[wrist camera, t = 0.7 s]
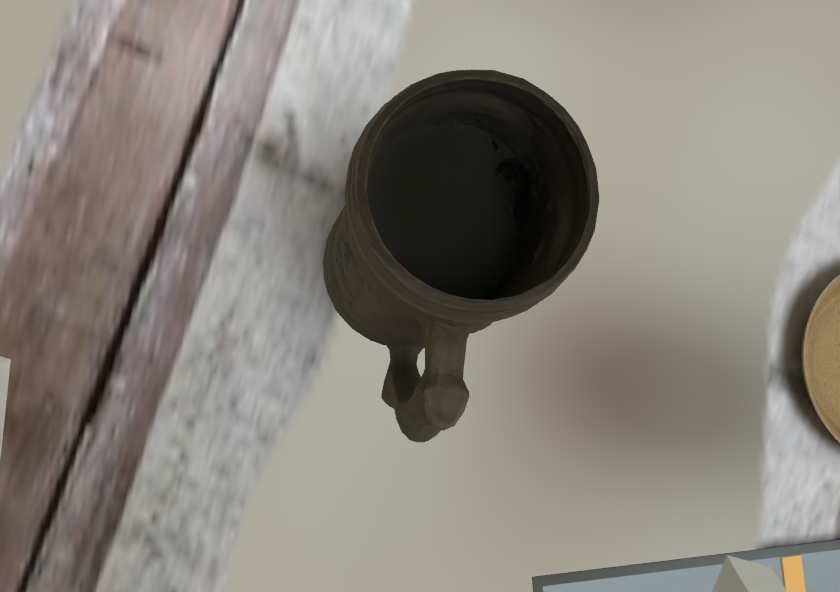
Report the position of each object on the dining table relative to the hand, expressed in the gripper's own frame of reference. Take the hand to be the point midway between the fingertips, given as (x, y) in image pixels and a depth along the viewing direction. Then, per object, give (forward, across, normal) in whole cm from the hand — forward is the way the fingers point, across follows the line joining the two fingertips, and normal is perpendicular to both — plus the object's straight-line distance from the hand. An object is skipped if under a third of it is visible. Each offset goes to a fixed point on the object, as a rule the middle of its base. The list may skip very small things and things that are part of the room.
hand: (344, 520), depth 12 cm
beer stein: (+32, +2, +4) cm, 33 cm away
